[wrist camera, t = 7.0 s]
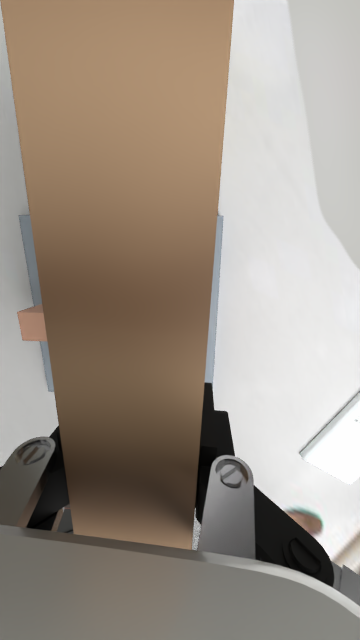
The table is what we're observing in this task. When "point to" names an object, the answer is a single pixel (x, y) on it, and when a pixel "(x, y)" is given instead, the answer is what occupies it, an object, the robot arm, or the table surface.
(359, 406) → the external hard drive
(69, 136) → the walnut beam
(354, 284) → the table surface
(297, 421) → the table surface
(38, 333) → the ridge board
